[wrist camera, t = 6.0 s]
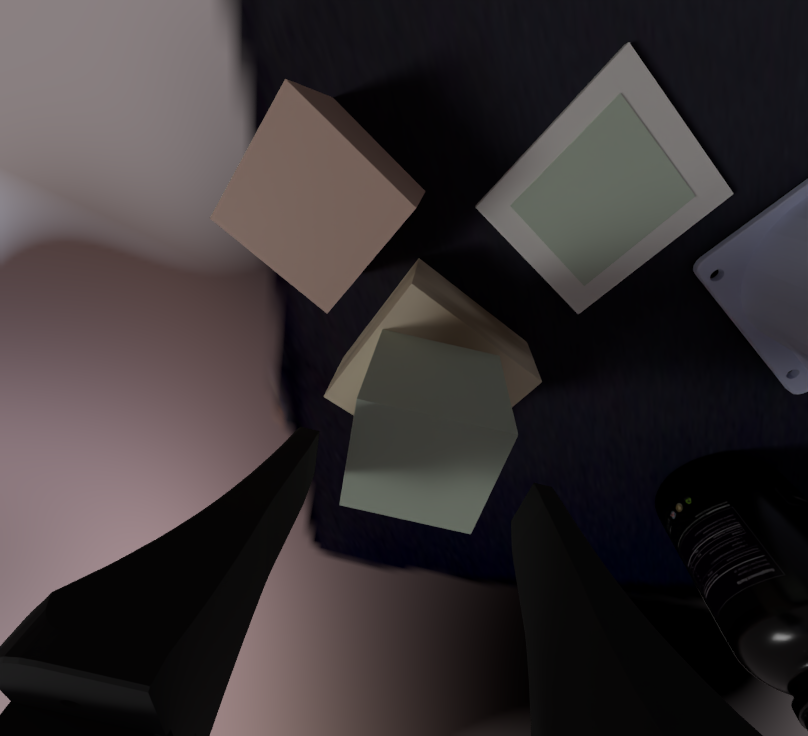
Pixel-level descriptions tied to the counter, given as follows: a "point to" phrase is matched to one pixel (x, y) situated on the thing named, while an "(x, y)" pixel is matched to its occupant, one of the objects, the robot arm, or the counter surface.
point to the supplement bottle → (747, 561)
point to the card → (605, 185)
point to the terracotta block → (315, 195)
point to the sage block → (428, 432)
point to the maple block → (435, 334)
